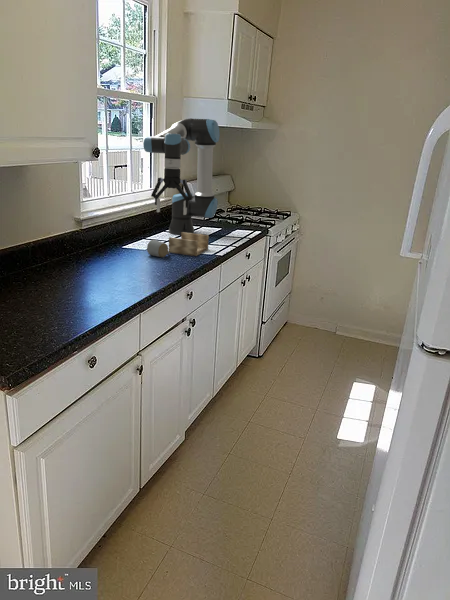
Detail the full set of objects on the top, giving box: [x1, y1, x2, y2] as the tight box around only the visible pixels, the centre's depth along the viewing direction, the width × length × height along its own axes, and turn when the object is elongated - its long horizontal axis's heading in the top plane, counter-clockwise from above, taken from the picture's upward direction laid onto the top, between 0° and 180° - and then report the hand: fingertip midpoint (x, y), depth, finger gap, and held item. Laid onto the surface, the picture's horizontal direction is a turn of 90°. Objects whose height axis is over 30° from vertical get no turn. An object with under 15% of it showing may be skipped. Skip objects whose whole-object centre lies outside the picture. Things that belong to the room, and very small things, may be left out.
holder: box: [168, 232, 210, 257], centre depth 249 cm, size 15×16×8 cm
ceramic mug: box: [146, 239, 170, 258], centre depth 237 cm, size 11×8×8 cm
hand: (171, 213), depth 236 cm, fingers open, 13 cm apart
